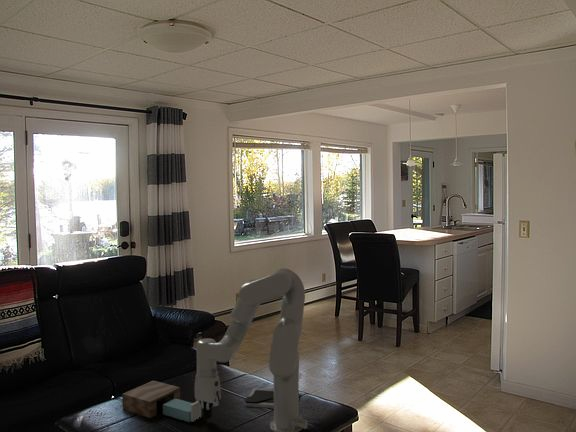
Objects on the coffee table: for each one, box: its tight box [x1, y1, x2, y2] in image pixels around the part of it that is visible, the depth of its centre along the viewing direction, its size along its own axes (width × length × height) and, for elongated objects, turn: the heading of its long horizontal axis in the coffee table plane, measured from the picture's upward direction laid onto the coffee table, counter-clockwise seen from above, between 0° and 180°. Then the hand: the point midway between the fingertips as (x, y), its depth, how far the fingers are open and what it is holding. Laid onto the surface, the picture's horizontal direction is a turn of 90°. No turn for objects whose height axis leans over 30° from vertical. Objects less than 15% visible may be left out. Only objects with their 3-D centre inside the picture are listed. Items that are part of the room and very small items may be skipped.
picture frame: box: [243, 388, 274, 409], centre depth 210 cm, size 16×3×21 cm
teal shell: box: [162, 398, 202, 423], centre depth 196 cm, size 15×7×6 cm, turn 59°
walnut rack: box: [121, 380, 181, 419], centre depth 205 cm, size 16×17×6 cm
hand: (207, 418), depth 190 cm, fingers closed
